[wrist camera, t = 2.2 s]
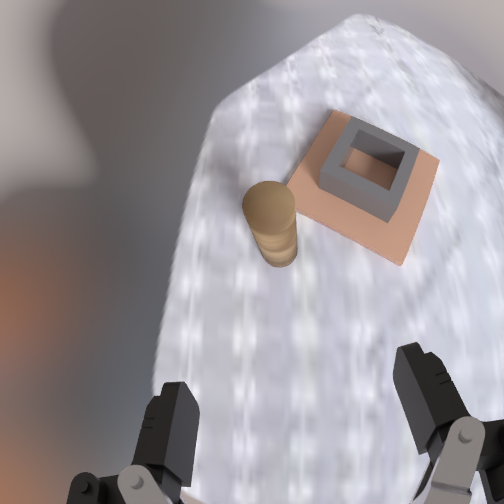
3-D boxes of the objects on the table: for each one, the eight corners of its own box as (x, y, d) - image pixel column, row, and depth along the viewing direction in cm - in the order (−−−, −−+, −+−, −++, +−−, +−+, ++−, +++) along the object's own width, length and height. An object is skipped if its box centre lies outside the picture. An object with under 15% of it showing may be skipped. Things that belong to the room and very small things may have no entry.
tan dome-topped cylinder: (273, 227, 35) (259, 173, 24) (303, 243, 34) (304, 194, 23) (255, 256, 35) (232, 214, 23) (286, 273, 33) (278, 237, 22)
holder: (333, 114, 39) (335, 89, 34) (437, 164, 34) (450, 143, 29) (278, 202, 36) (274, 182, 31) (399, 266, 32) (414, 254, 27)
